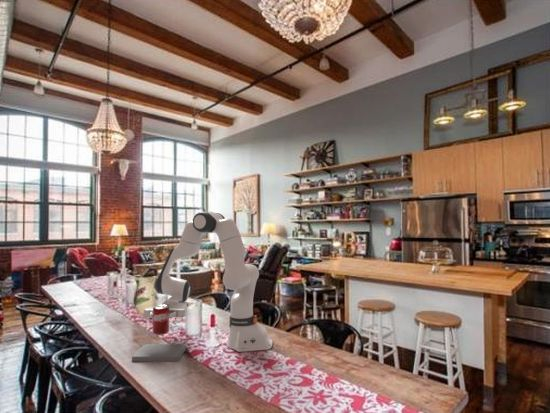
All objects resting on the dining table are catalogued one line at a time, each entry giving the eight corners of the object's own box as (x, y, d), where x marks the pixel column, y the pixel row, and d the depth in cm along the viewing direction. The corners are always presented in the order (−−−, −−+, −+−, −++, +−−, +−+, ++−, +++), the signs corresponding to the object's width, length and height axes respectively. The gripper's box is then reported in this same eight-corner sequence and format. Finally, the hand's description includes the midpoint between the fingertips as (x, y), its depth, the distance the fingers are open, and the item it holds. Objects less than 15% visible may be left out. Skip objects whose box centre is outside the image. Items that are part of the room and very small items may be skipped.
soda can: (152, 331, 153) (153, 305, 154) (168, 329, 156) (169, 304, 156) (152, 336, 146) (152, 309, 147) (169, 334, 149) (169, 307, 149)
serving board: (186, 348, 155) (186, 344, 155) (177, 361, 141) (177, 356, 141) (144, 348, 155) (144, 344, 155) (131, 361, 141) (132, 356, 141)
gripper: (149, 302, 164) (138, 309, 151) (189, 302, 164) (182, 309, 150) (149, 314, 164) (137, 323, 150) (189, 314, 164) (181, 323, 150)
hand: (160, 316), depth 150 cm, fingers closed on soda can, 7 cm apart
